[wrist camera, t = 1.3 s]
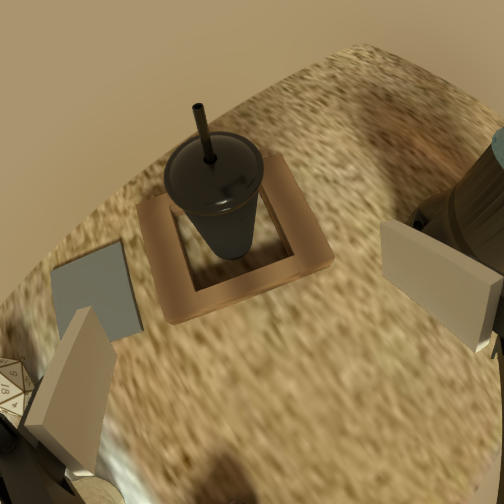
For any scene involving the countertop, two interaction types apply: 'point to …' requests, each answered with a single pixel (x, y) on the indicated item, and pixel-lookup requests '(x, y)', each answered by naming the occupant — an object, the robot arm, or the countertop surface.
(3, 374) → the game die
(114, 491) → the white cup
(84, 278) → the slate mat
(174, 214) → the holder frame
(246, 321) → the countertop surface
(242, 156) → the drinking cup
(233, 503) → the perforated stone tool
